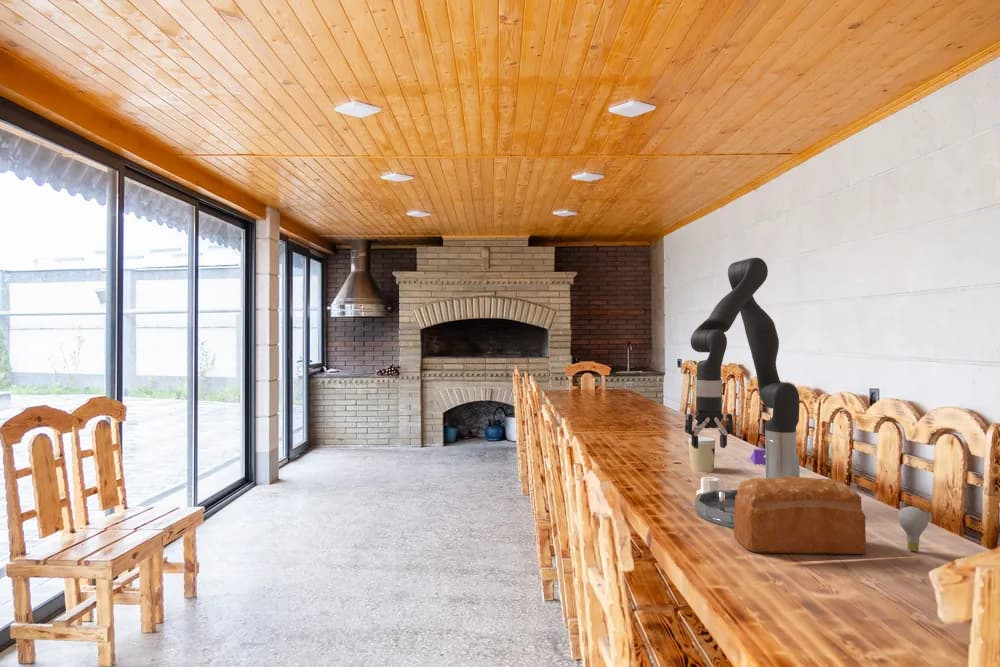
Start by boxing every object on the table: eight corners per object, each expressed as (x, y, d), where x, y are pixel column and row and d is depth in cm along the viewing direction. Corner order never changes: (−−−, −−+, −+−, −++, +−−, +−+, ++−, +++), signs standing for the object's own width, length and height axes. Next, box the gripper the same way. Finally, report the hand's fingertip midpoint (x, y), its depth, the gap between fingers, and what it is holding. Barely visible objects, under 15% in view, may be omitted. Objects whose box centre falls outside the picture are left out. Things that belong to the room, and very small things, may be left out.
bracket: (774, 469, 212) (774, 450, 213) (754, 468, 214) (754, 450, 214) (768, 462, 224) (768, 445, 224) (749, 461, 226) (749, 444, 226)
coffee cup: (719, 474, 203) (719, 441, 203) (693, 475, 203) (693, 441, 203) (710, 469, 212) (710, 436, 212) (685, 469, 212) (684, 436, 212)
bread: (729, 534, 141) (728, 471, 141) (839, 536, 140) (838, 471, 140) (750, 555, 127) (749, 485, 128) (872, 557, 126) (871, 486, 126)
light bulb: (929, 557, 125) (928, 511, 125) (899, 552, 128) (898, 508, 128) (927, 549, 130) (926, 505, 130) (897, 545, 133) (897, 502, 133)
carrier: (768, 500, 171) (768, 476, 171) (828, 530, 144) (827, 502, 144) (680, 503, 168) (680, 479, 168) (724, 534, 141) (724, 505, 141)
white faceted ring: (716, 493, 179) (715, 475, 179) (727, 499, 171) (726, 481, 171) (693, 494, 178) (693, 476, 178) (703, 500, 171) (703, 482, 171)
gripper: (725, 393, 179) (725, 445, 179) (681, 393, 178) (681, 446, 178) (737, 395, 172) (737, 449, 172) (691, 396, 171) (691, 450, 171)
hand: (709, 447), depth 175 cm, fingers open, 8 cm apart
